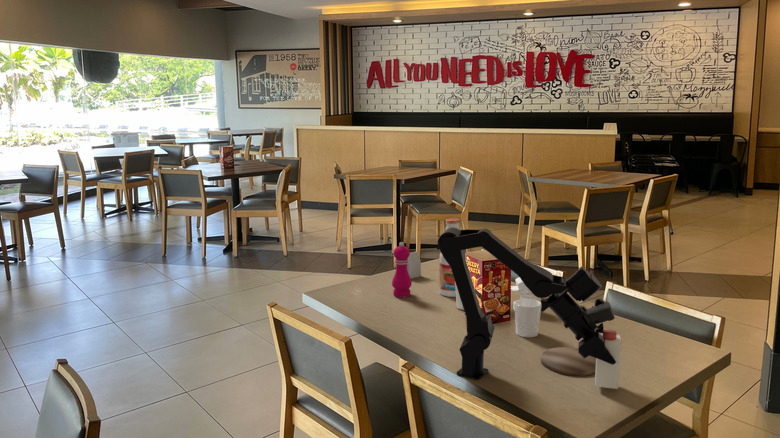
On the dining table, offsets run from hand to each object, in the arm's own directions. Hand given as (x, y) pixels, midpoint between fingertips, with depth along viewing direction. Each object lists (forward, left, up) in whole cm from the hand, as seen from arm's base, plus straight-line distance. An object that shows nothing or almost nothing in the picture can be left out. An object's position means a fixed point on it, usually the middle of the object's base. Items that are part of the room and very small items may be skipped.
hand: (613, 358), depth 154 cm
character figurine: (+45, +40, -8) cm, 61 cm away
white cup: (+24, +31, -8) cm, 40 cm away
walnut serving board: (+10, +13, -8) cm, 18 cm away
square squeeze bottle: (0, +1, -7) cm, 7 cm away
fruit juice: (+47, +69, -8) cm, 84 cm away
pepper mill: (+36, +84, -8) cm, 92 cm away
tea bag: (+58, +93, -8) cm, 110 cm away
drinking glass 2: (+35, +58, -8) cm, 68 cm away
